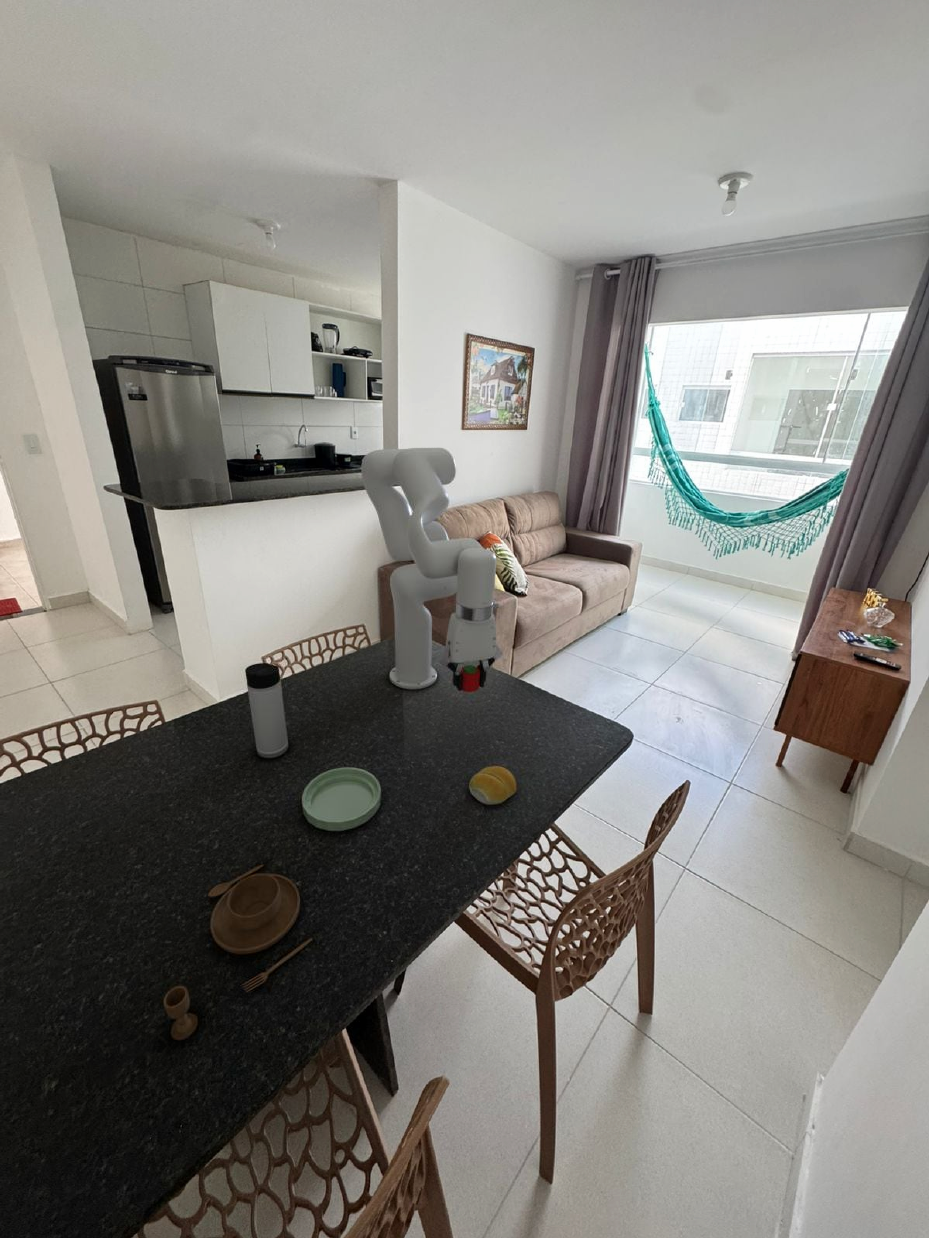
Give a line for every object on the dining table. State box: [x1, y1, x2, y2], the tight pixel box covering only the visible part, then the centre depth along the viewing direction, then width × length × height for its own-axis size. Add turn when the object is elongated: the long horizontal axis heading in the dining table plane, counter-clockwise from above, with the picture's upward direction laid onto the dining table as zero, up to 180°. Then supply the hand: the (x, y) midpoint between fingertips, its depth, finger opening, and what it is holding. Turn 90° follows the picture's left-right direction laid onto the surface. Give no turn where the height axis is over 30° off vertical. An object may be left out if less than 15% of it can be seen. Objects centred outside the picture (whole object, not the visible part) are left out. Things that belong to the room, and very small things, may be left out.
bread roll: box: [468, 765, 517, 806], centre depth 99 cm, size 8×9×4 cm
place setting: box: [163, 864, 313, 1041], centre depth 70 cm, size 18×20×6 cm
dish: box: [301, 766, 382, 832], centre depth 94 cm, size 14×14×3 cm
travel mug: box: [244, 662, 289, 759], centre depth 104 cm, size 6×7×20 cm
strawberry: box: [461, 664, 480, 693], centre depth 111 cm, size 4×4×5 cm
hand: (469, 685), depth 112 cm, fingers closed on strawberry, 4 cm apart
